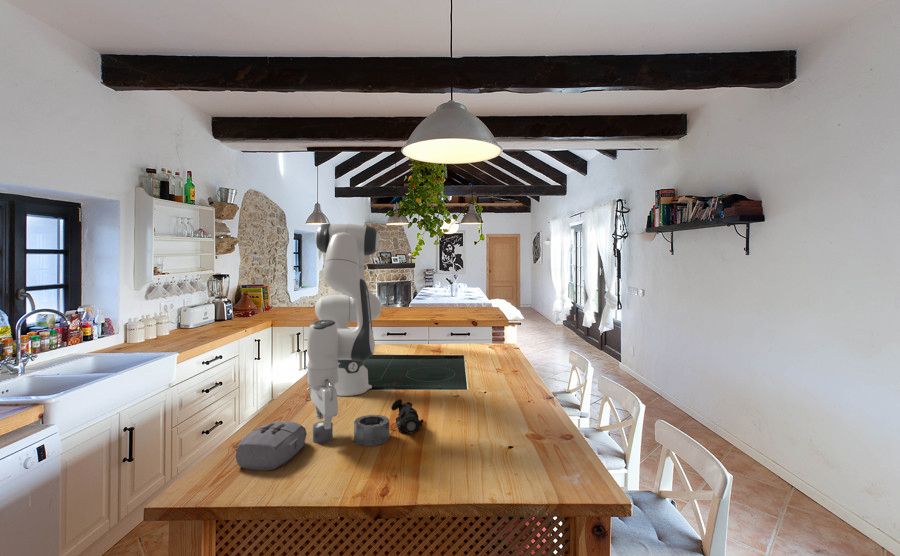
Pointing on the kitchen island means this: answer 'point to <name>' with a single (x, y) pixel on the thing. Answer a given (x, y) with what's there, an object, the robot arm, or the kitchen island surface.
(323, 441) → the white-tipped grey cylinder
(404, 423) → the night vision scope
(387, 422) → the grey faceted round container
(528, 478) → the kitchen island surface
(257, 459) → the grey rounded bag
